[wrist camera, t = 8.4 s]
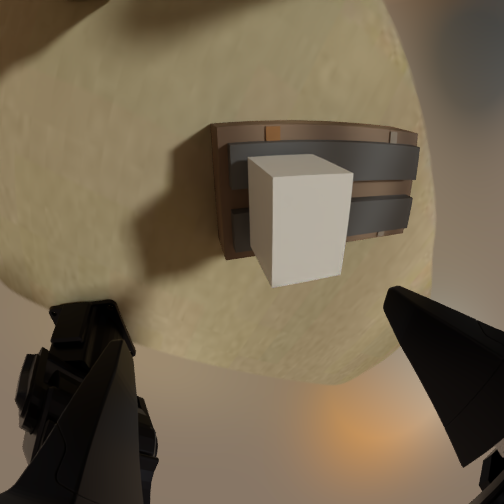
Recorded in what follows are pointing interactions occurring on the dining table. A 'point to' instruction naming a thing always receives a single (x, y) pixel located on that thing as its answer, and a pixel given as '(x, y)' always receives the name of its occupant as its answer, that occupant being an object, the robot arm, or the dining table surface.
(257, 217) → the block
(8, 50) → the dining table surface
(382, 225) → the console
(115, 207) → the dining table surface
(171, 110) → the dining table surface
